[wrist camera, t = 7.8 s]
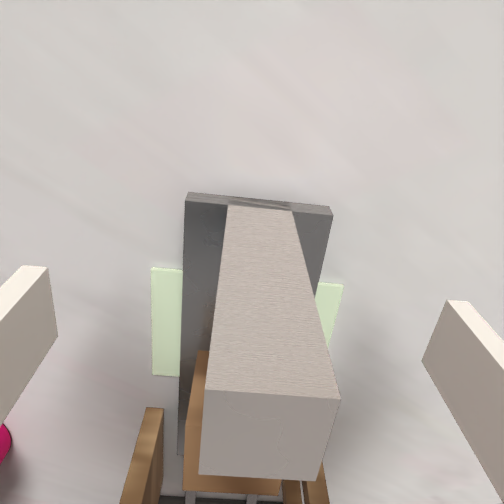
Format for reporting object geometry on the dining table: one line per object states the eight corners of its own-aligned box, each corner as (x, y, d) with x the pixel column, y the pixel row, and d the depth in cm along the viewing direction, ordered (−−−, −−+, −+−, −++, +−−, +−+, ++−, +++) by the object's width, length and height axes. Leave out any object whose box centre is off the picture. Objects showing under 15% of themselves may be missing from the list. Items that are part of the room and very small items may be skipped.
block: (194, 410, 25) (182, 490, 20) (197, 350, 22) (185, 425, 18) (272, 415, 25) (277, 495, 20) (284, 357, 23) (293, 432, 18)
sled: (179, 439, 28) (135, 690, 17) (188, 192, 19) (110, 382, 8) (277, 445, 28) (294, 694, 17) (328, 206, 19) (428, 405, 9)
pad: (153, 371, 26) (152, 374, 25) (151, 267, 22) (150, 269, 22) (316, 383, 26) (317, 386, 26) (343, 284, 23) (344, 287, 22)
